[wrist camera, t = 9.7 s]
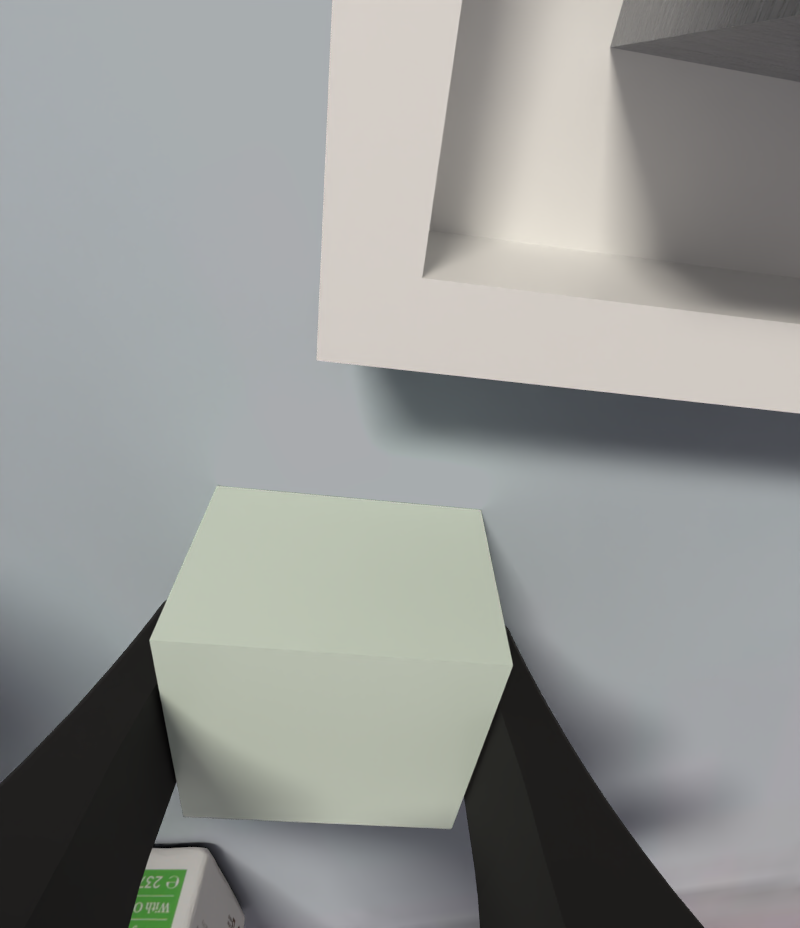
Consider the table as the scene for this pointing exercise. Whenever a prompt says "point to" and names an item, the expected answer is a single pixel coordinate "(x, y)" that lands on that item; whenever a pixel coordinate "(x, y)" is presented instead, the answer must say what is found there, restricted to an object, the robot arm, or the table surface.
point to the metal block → (716, 33)
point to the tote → (557, 206)
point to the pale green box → (330, 660)
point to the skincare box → (185, 892)
